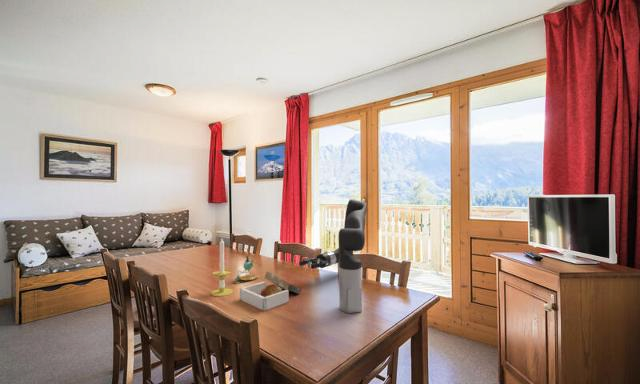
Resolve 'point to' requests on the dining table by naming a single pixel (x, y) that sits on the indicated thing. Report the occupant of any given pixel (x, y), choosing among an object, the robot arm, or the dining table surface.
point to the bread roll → (270, 290)
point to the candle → (221, 275)
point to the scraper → (282, 283)
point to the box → (263, 303)
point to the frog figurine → (247, 266)
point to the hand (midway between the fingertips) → (305, 265)
